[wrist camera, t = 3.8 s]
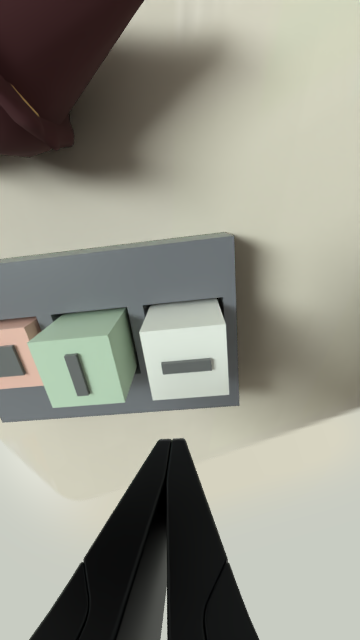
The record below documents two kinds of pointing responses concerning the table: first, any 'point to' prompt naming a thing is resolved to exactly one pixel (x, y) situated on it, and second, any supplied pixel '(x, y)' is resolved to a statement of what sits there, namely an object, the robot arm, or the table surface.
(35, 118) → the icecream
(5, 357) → the key coral
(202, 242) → the keypad
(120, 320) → the key sage
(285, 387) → the table surface
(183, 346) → the key ivory
